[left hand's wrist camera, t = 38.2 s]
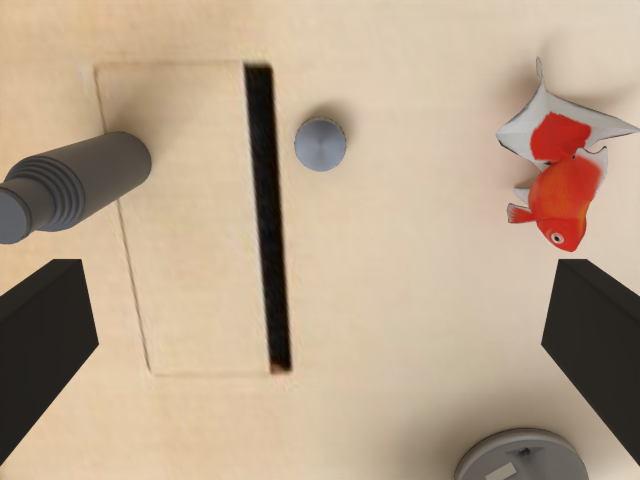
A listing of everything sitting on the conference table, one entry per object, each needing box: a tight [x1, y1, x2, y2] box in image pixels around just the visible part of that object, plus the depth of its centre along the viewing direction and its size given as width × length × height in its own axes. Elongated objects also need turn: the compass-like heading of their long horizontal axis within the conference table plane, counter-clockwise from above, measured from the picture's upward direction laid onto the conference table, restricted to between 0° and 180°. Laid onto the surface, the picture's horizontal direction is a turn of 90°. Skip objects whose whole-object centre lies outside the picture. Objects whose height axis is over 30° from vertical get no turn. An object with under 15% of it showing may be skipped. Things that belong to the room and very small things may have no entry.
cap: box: [294, 117, 346, 171], centre depth 39 cm, size 4×4×2 cm
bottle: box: [0, 132, 151, 244], centre depth 33 cm, size 5×5×17 cm
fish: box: [495, 57, 640, 252], centre depth 37 cm, size 11×16×10 cm
